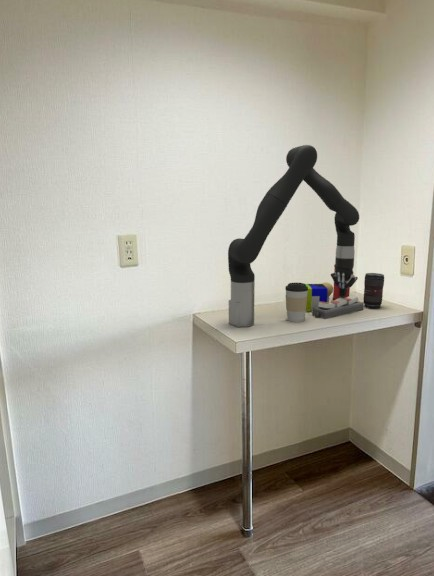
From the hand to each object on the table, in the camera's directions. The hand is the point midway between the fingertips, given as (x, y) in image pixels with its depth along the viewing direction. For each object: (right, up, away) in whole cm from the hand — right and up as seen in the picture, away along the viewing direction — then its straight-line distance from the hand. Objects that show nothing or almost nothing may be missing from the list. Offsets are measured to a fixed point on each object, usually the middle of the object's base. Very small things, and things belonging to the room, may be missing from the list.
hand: (342, 296), depth 180 cm
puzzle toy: (-11, -5, +7) cm, 14 cm away
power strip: (-2, -7, 0) cm, 7 cm away
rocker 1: (-8, -4, -5) cm, 10 cm away
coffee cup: (-22, -9, -9) cm, 25 cm away
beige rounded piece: (-4, -4, +14) cm, 15 cm away
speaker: (+5, -3, +20) cm, 21 cm away
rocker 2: (-2, -3, -1) cm, 4 cm away
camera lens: (+16, -5, +8) cm, 18 cm away
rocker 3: (+4, -2, +3) cm, 6 cm away
